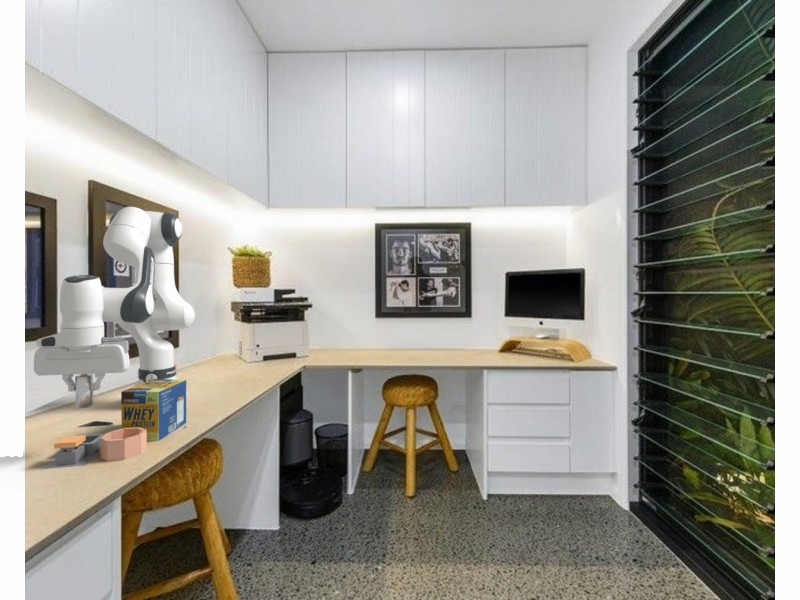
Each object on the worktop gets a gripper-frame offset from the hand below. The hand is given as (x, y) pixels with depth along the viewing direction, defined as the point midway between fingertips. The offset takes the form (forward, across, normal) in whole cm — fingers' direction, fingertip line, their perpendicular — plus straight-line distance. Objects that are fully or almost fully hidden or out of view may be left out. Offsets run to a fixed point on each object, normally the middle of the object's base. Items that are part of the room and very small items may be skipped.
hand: (84, 390), depth 102 cm
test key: (+15, 0, +7) cm, 16 cm away
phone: (+18, +10, -19) cm, 28 cm away
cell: (+4, 0, 0) cm, 4 cm away
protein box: (+18, -13, -11) cm, 25 cm away
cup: (+17, -10, +4) cm, 21 cm away
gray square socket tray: (+17, 0, +4) cm, 18 cm away
